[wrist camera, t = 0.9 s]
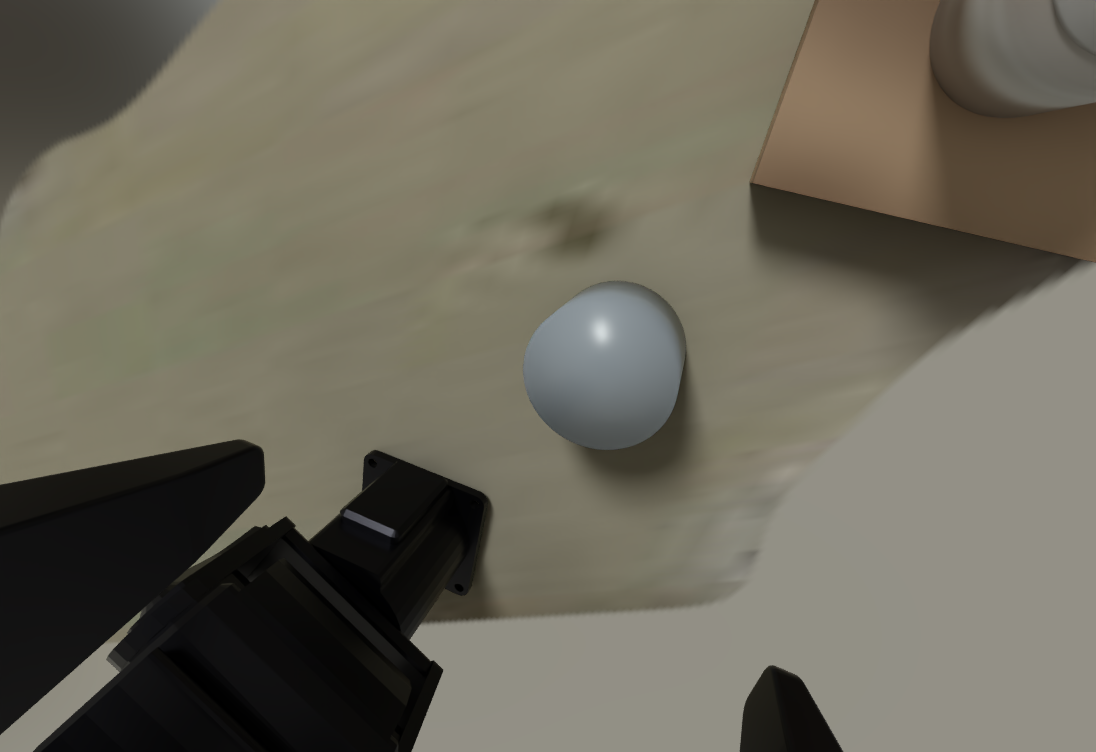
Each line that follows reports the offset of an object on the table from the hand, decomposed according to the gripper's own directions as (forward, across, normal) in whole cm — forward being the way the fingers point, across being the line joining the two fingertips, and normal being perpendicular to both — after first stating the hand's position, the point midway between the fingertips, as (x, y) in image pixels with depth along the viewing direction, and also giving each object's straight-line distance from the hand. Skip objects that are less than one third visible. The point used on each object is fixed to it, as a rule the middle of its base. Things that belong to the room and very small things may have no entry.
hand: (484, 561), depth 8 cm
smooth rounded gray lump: (+12, 0, 0) cm, 12 cm away
